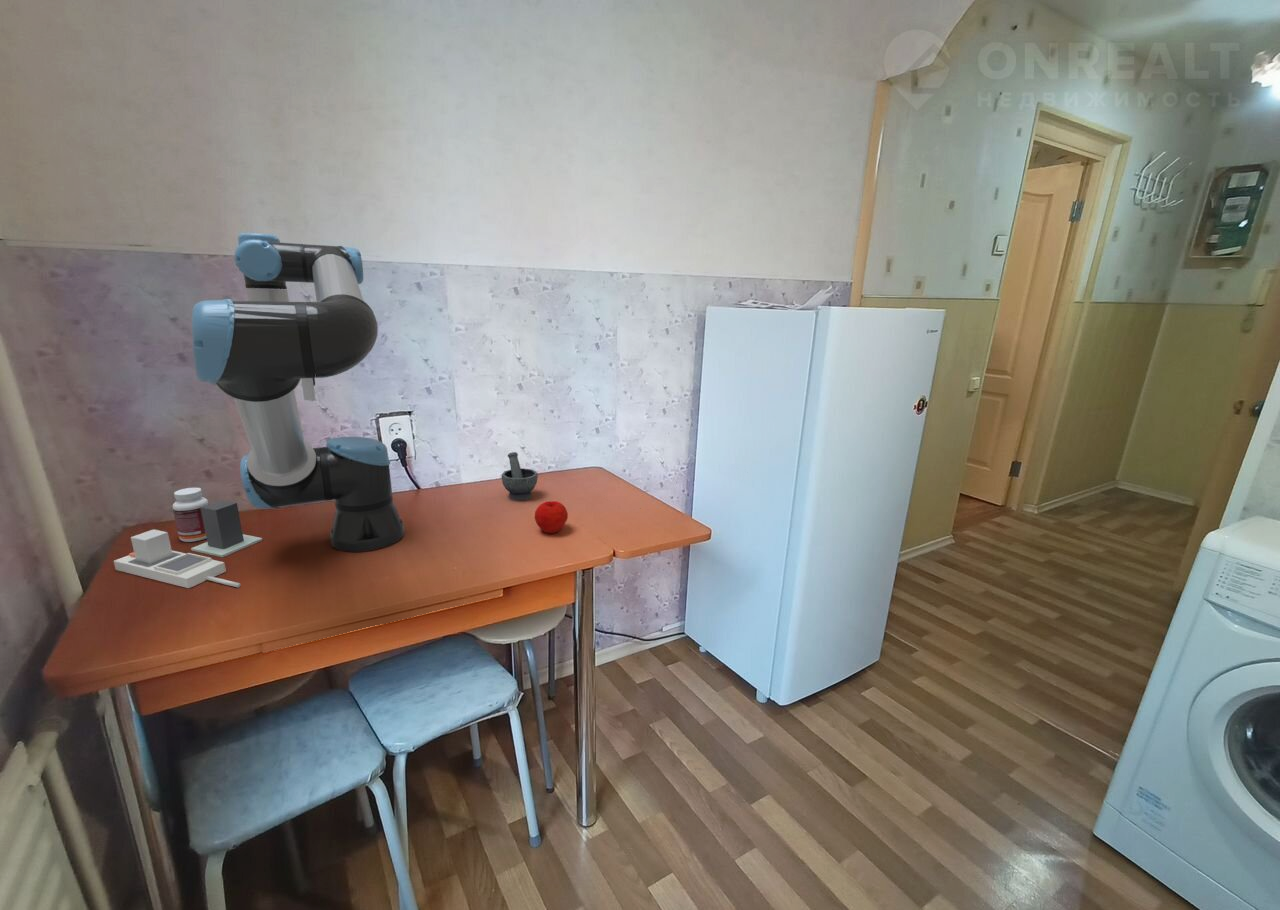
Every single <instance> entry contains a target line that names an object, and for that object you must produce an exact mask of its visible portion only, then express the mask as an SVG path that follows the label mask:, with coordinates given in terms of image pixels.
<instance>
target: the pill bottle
mask: <svg viewBox="0 0 1280 910" xmlns="http://www.w3.org/2000/svg"><path fill="white" fill-rule="evenodd" d="M173 496H174V499H175V502H174V503H173V504H172V512H173V516H174V521H175V525H176V529H177V534H178V538H179V540H180V541H182V542H185V543H193V542H199V541H202V540H207V538H206V533H205V528H204V523H203V518H202V514H201V509H200V507H202V506H205V505H208V504H209V501H208V499H207V498H205V497H203V490H202V488H201V487H186V488H181V489H179V490H176V491H174V492H173Z"/></svg>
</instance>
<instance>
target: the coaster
mask: <svg viewBox="0 0 1280 910" xmlns="http://www.w3.org/2000/svg"><path fill="white" fill-rule="evenodd" d="M243 538H244V541H243V542H240V543H238V544H235V545H233V546H231V547H228V548H226V549H219V548H215V547H210V546H208V542H207V541H205V542H203V543H200V544H199V545H195V546H194V547H191V548H190V550H191V552H196V553H200V554H201V553H202V554H205V555H210V556H214V557H219V558H224V557H226V556H229V555H231V554H233V553H236V552H237V551H241V550H243V549H246V548H248V547H250V546H253V545H255V544H257V543H259V542H262V541H263V537H259V536H253V535H249V534H244V533H243Z"/></svg>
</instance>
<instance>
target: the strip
mask: <svg viewBox="0 0 1280 910" xmlns="http://www.w3.org/2000/svg"><path fill="white" fill-rule="evenodd" d="M130 540H131V544H132V548H133V552H130V553H128V555H126V556H123V557H121V558H117V559H115V560H113V564H114V568H115V570H116V571H119V572H121V573H127V574H131V575H135V576H139V577H143V578H147V579H151V580H154V581H158V582H162V583H166V584H170V585H174V586H178V587H181V588H182V587H183V588H185V589H190V588H192V587H195V586H197V585H199V584H201V583H204V582H206V581H209V582H213V583H218V584H222V585H226V586H231V587H234V588H240V587H241V583H240V582H236V581H231V580H227V579H224V578H221V577H220V578H219V577H216V576H219V575H221V574H223V573H226V572H227V569H226V565H225V561H224V562H223V561H219V560H215V559H212V557H209V556H204V555H199V554H195V553H191V552H187V553H184V552H181V551H177V550H172V546H171V545H172V544H171V542H170V537H169V533H168V532H167V531H163V530H159V529H155V528H154V529H150V530H147V531H145V532H142V533H140V534H136V535H134V536H133V535H132V536H131V537H130Z"/></svg>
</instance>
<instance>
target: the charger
mask: <svg viewBox="0 0 1280 910" xmlns="http://www.w3.org/2000/svg"><path fill="white" fill-rule="evenodd" d="M200 509H201V514H202V518H203V523H204V528H205V533H206V542H208V546H210V547H215V548H219V549H226V548H228V547H231V546H233V545H235V544H238V543H240V542H243V541H244V538H243V534H244V533H243V529H242V523H241V518H240V512H239V507H238V502H234V501H228V500H223V499H220V500H218V501H215V502H213V503H208V505H205V506H202V507H200Z"/></svg>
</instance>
